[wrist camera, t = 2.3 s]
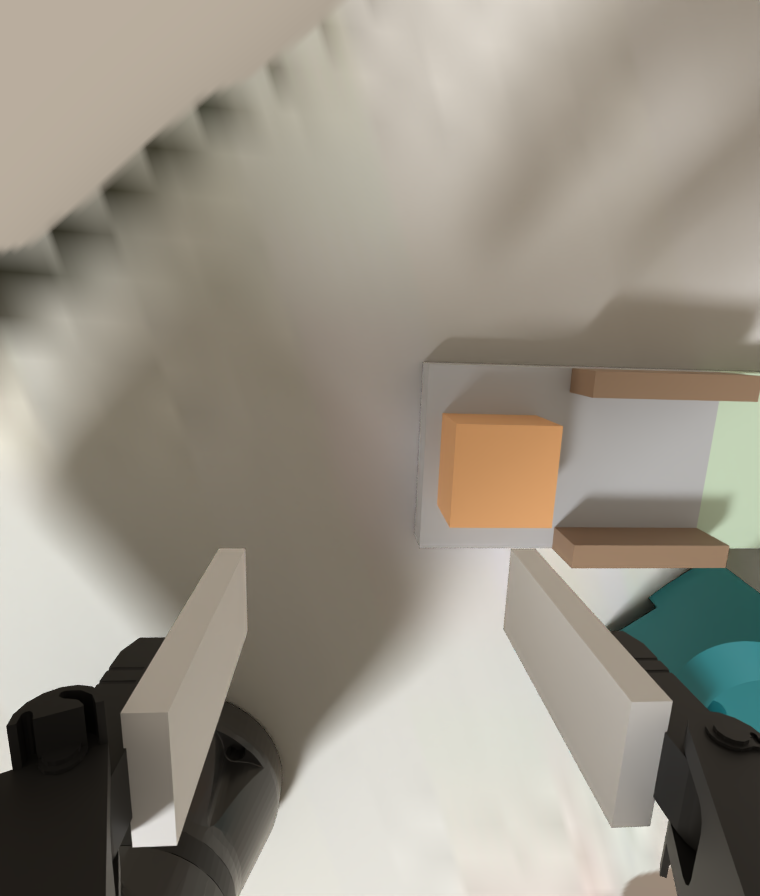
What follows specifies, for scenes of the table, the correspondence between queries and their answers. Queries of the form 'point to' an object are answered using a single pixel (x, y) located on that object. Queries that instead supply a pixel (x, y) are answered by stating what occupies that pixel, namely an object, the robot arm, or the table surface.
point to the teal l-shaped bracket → (708, 639)
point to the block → (498, 470)
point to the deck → (613, 460)
